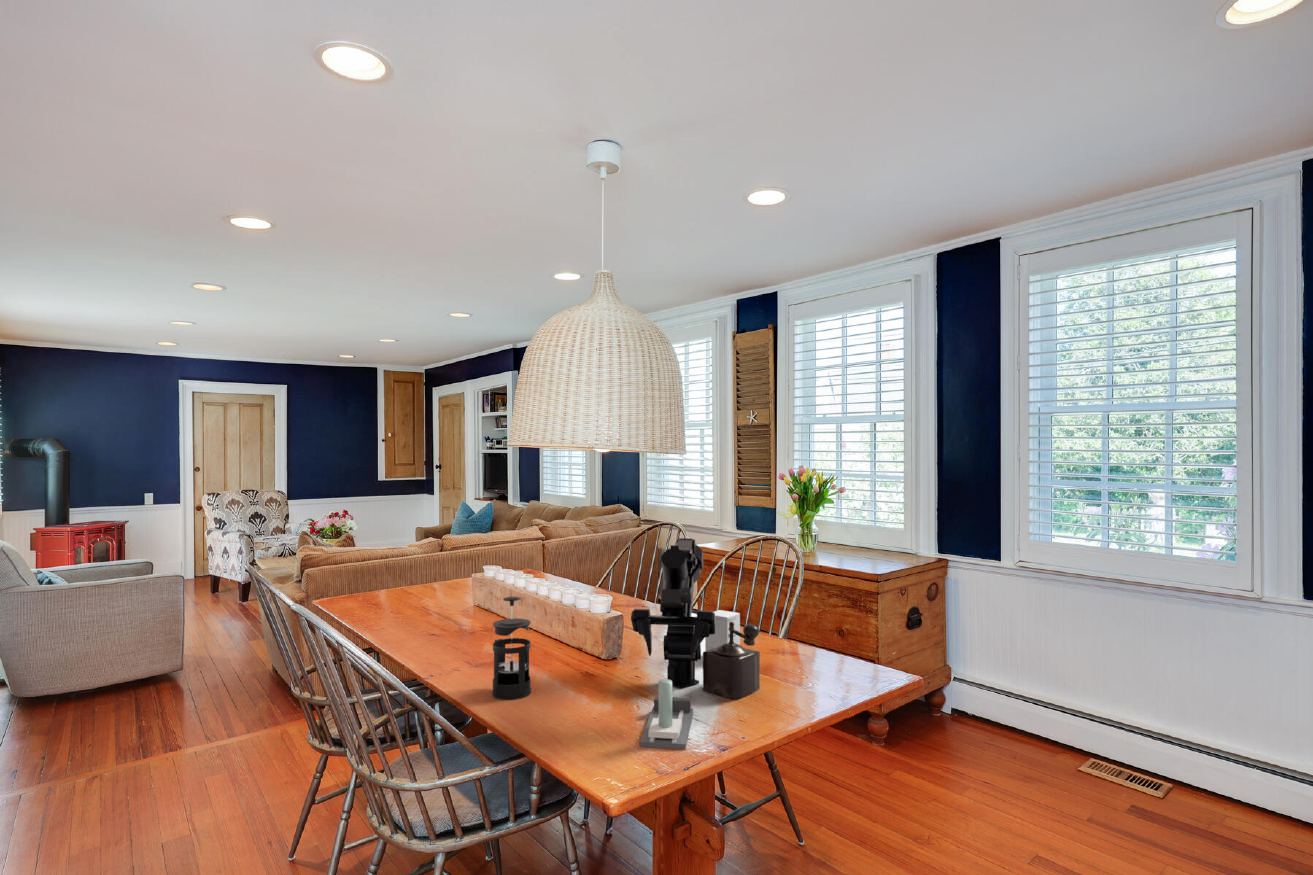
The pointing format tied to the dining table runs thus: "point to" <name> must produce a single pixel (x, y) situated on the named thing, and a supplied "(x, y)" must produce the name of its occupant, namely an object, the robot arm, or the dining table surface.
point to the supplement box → (723, 629)
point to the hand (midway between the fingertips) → (670, 655)
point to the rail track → (679, 711)
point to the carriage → (665, 715)
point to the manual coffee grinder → (733, 666)
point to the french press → (511, 674)
